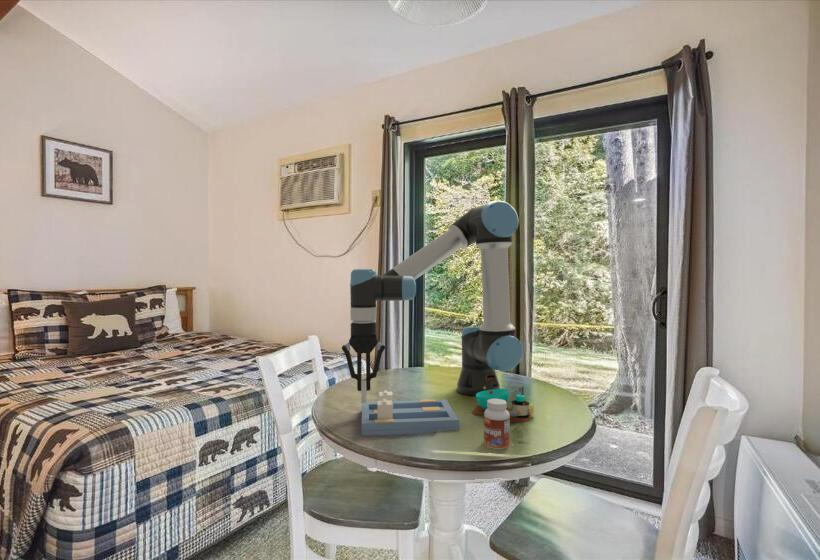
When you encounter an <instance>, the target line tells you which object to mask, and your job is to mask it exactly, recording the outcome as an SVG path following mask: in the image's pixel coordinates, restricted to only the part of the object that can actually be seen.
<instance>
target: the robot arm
mask: <svg viewBox="0 0 820 560" xmlns="http://www.w3.org/2000/svg"><path fill="white" fill-rule="evenodd" d="M519 220H520V219H519V216H518V212H517V210H516V209H515V208H514V207H513V206H512V205H511V204H510V203H508V202H507V201H503V200H495V201H489V202H487V203H485V204H482V205H479V206H475V207H473V208H471V209H470V210H469V211H467V212H466V213H465V214H463V215H462V216H461V217H459V218H458V219H457V220H456V221H454V222H453V223H451V224H449V226H448V230H447V231H445V232H444V233H442V234H441V235H439V236H438V237H437V238H435V239H433V240H432V241H431V242H429V243H427V244H426V245H424V246H423V247H421V248H420V249H419V250H417V251H416V252H414V253H413V254H411V255H410V256H408V257H407V258H405V259H404V260H402V261H401V262H400V263H398V264H397V265H395V266H394V267H392V268H391V269H389V270H388V271H386V272H384V274H382V275H378V274H377V270H376V269H373V268H360V269H356V268H355V269H353V270H352V271H351V272H350V284H349V285H350V286H349V287H350V291H349V293H350V321H351V323H350V338H349V340H348V342H347V343H346V344H343V345H342V347H341V350H342V352H343V353H344V355H345V358H346V362H347V363H346V364H347V366H348V369H349V373H350V374H349V375H350V378H351V379H354V380H356V381H357V382H356V383H357V384H356V386H357V392H361V393H360V394H361V397H360V398H361V400H360V401H361V403H360V404H362V403H366V402H367V392H370V391H371V380H372V379H376V378H377V374H378V371H379V368H380V364H381V359H382V354H383V352H384V350H385V349H386V345H385V343H381V342H380V341H379V339H378V337H377V323H376V321H377V302H382V301H383V302H389V301H391V302H392V301H393V302H395V301H397V302H398V301H402V302H405V301H412V300H414V298H415V297H416V295H417V294H416V293H417V283H416V280H417V279H419V278H420V277H421V276H422V275H425V274H426V273H427V272H428V271H431V269H433V268H434V267H435V266H437V265H438V264H440V263H442V262H443V261H444V260H445V259H447V258H448V257H451V256H452V255H453V254H454V253H456V252H458V251H459V250H460V249H466V248H468V247H469V246H471V245H473V244H475V246H476V247H477V248H478V249H479V250H480V258H481V259H480V263H481V287H482V289H481V290H482V310H483V311H482V314H483V315H482V316H483V323H482V325H480V326H465V327H463V328H462V329H461V371H460V374H459V377H458V379H457V383H456V391H457V392H458V393H460V394H463V395H467V396H473V397H476V394H477V393H478V392H481V391H486V390H491V386H492V382H489V381H488V382H487V384H486V379H485V377H486V376H487V375H495V376H496V381H493V386H492V390H493V389H501V384H500V382H499V379H498V375H497V372H496V371H499V372H508V371H511V370H514V369H515V368H516V367H517V366H518V364H520V362H521V361H522V358H523V355H524V347H523V345H522V342H521V341H520V339H518V337H516V336H517V335H516V332H517V331H516V326H515V325H513V323H512V322H511V307H510V306H511V303H510V302H511V299H510V297H511V296H510V278H509V277H510V274H509V270H510V269H509V268H510V267H509V247H511V245H512V244H513V234H514V233H515V232H516V231H517V230H518V227H519ZM351 348H352V350H354V352H355V353H356V366H357V367H356V368H357V369H356V370H357V371H355V367H354V363H353V359H352V356H351V352H350V351H351ZM375 348H376V350H377V353H376V355H375V356H376V357H375V359H374V360H375V361H374V365H373V369H372V372H371V353H372V352H373V351H374V349H375ZM362 354H365V376H366V377H365V378H362ZM488 379H494V378H493V377H489V378H488ZM485 384H486V385H485ZM483 387H486V388H485V389H484V388H483Z"/></svg>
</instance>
